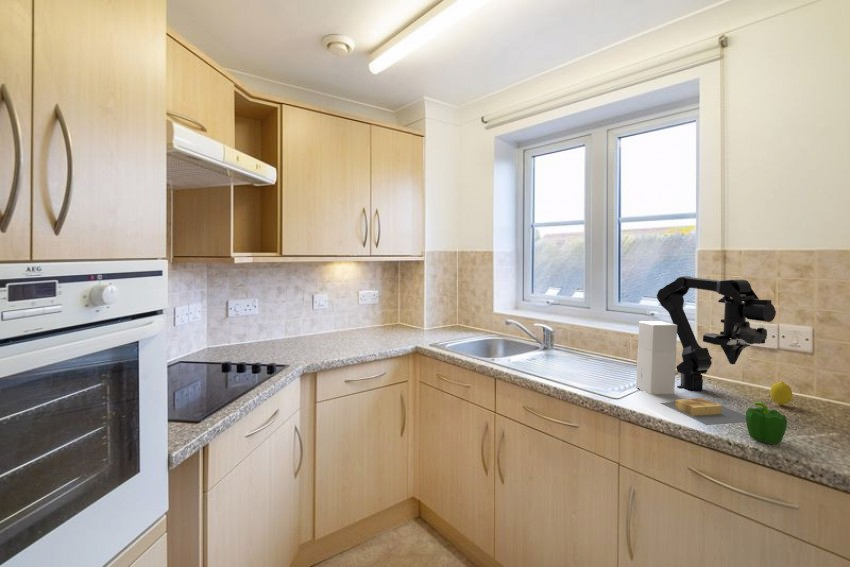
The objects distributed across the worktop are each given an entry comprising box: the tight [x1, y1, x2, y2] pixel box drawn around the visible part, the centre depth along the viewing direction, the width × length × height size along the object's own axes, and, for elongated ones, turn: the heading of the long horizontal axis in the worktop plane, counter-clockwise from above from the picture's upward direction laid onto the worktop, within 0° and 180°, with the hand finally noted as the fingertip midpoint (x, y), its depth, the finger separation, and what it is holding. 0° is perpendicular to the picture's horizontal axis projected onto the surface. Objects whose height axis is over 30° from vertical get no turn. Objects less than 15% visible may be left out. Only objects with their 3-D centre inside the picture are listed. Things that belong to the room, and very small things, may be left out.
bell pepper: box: [745, 401, 788, 445], centre depth 108 cm, size 8×8×10 cm
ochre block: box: [674, 397, 723, 416], centre depth 128 cm, size 7×2×10 cm
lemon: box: [769, 381, 793, 406], centre depth 135 cm, size 6×6×8 cm
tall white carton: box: [635, 320, 678, 395], centre depth 147 cm, size 9×9×25 cm
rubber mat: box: [660, 399, 746, 426], centre depth 127 cm, size 18×18×1 cm
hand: (732, 364), depth 136 cm, fingers closed
